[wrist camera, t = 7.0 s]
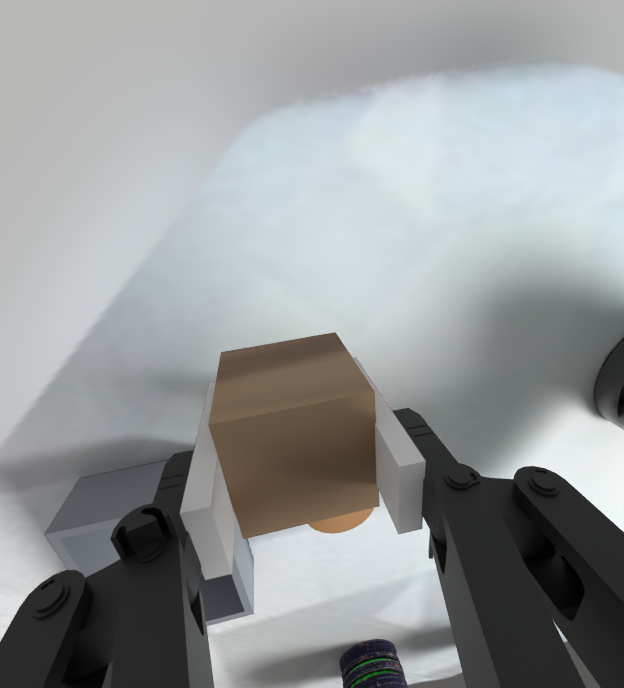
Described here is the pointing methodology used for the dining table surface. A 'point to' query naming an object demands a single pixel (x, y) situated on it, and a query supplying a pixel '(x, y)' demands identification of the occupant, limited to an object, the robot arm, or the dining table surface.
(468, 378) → the dining table surface
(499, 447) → the dining table surface
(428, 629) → the dining table surface
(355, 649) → the storage jar
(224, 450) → the walnut cube
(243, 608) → the tote
